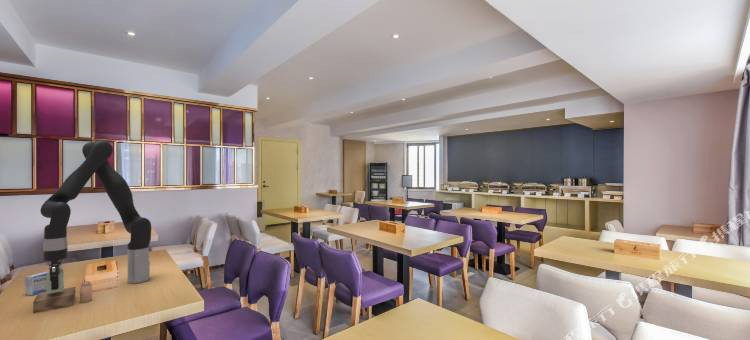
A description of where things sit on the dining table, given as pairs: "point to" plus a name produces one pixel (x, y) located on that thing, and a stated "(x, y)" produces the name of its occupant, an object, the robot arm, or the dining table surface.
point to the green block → (61, 283)
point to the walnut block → (54, 300)
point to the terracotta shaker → (85, 292)
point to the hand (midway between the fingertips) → (55, 287)
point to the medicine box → (35, 283)
